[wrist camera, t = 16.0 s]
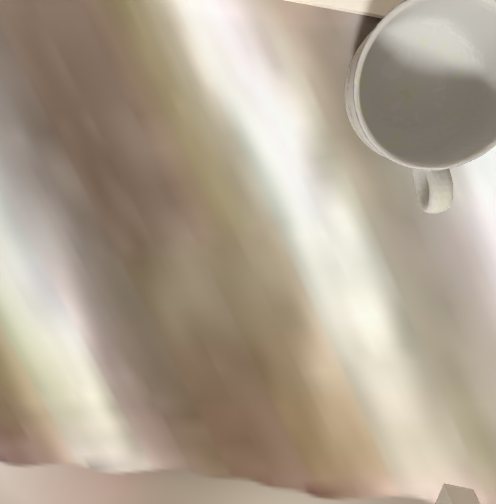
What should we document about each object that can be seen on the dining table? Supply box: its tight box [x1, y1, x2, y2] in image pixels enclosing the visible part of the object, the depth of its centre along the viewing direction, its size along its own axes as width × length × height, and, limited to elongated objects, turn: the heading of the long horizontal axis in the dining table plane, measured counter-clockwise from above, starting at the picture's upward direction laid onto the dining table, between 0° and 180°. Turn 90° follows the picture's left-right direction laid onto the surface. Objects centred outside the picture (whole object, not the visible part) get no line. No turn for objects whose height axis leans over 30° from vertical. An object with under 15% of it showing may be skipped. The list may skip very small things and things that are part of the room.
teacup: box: [345, 0, 496, 213], centre depth 31 cm, size 14×11×8 cm
